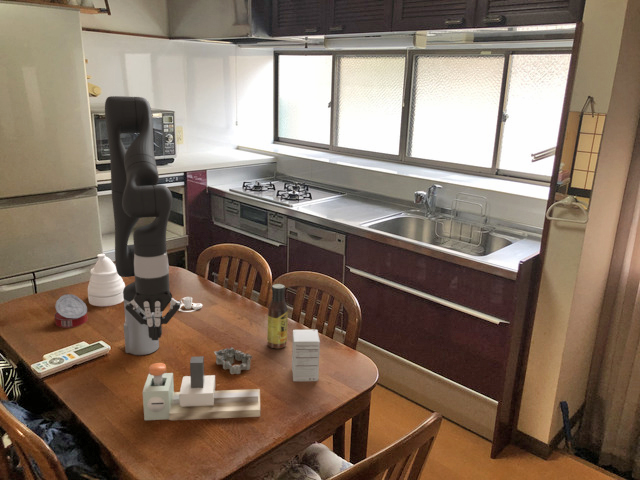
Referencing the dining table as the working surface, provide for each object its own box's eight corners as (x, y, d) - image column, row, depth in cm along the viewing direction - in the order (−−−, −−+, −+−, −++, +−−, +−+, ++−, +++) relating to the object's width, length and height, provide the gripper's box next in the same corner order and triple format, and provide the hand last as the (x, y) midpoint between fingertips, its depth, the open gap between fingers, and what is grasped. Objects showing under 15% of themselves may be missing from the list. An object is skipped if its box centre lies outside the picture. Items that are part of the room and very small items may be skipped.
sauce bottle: (284, 350, 162) (285, 291, 156) (264, 348, 163) (265, 289, 157) (289, 341, 168) (290, 283, 162) (270, 338, 169) (271, 281, 163)
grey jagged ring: (254, 369, 151) (254, 356, 150) (232, 377, 147) (232, 364, 145) (234, 354, 159) (234, 342, 158) (212, 361, 154) (212, 349, 153)
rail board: (169, 420, 127) (168, 408, 126) (174, 398, 135) (174, 387, 134) (260, 416, 130) (260, 404, 129) (259, 395, 138) (259, 384, 137)
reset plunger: (148, 394, 127) (147, 371, 125) (151, 384, 131) (150, 362, 129) (165, 393, 127) (164, 371, 126) (168, 384, 131) (167, 362, 129)
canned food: (83, 327, 181) (95, 301, 181) (80, 337, 172) (93, 310, 172) (49, 315, 177) (62, 289, 177) (44, 325, 168) (58, 297, 168)
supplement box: (291, 367, 152) (292, 328, 149) (316, 367, 153) (318, 328, 149) (292, 382, 145) (293, 341, 142) (318, 381, 146) (320, 341, 142)
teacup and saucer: (205, 308, 190) (205, 298, 189) (189, 315, 183) (189, 305, 182) (188, 302, 194) (188, 292, 193) (172, 309, 188) (171, 299, 187)
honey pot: (118, 307, 187) (114, 259, 182) (82, 305, 187) (77, 258, 182) (131, 293, 199) (127, 248, 194) (97, 291, 199) (93, 246, 194)
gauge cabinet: (144, 421, 126) (142, 393, 124) (150, 400, 134) (148, 373, 132) (169, 420, 127) (168, 392, 125) (174, 400, 135) (173, 372, 133)
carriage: (179, 410, 127) (178, 368, 124) (183, 391, 135) (182, 351, 131) (213, 409, 128) (212, 367, 125) (215, 390, 136) (214, 351, 132)
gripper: (117, 277, 116) (123, 347, 121) (179, 276, 117) (182, 345, 122) (125, 265, 123) (130, 332, 128) (183, 265, 124) (185, 331, 129)
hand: (155, 338), depth 125 cm, fingers closed
